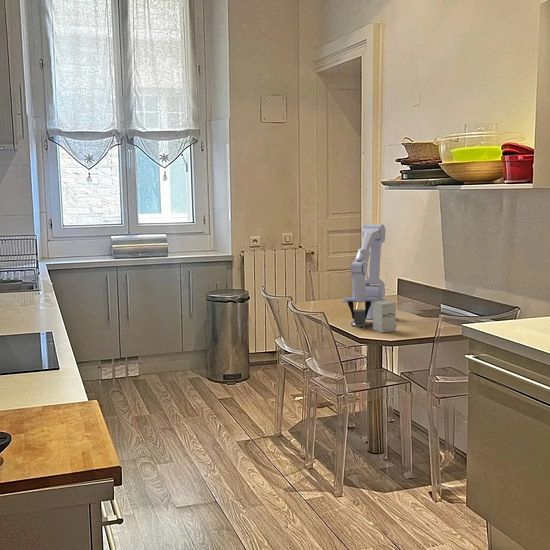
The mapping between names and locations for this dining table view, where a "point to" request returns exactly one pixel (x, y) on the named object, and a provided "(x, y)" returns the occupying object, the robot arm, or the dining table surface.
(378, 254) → the robot arm
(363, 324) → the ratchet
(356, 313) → the dark grey cube
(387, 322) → the supplement box
